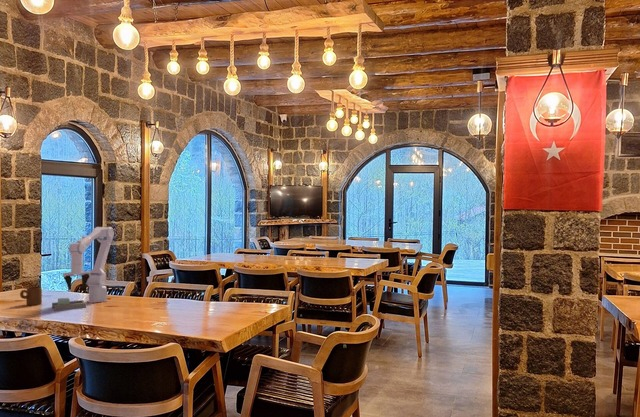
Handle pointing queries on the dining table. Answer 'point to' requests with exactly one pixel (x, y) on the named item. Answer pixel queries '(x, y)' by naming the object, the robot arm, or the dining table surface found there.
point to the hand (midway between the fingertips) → (76, 288)
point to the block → (63, 301)
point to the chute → (69, 305)
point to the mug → (32, 296)
